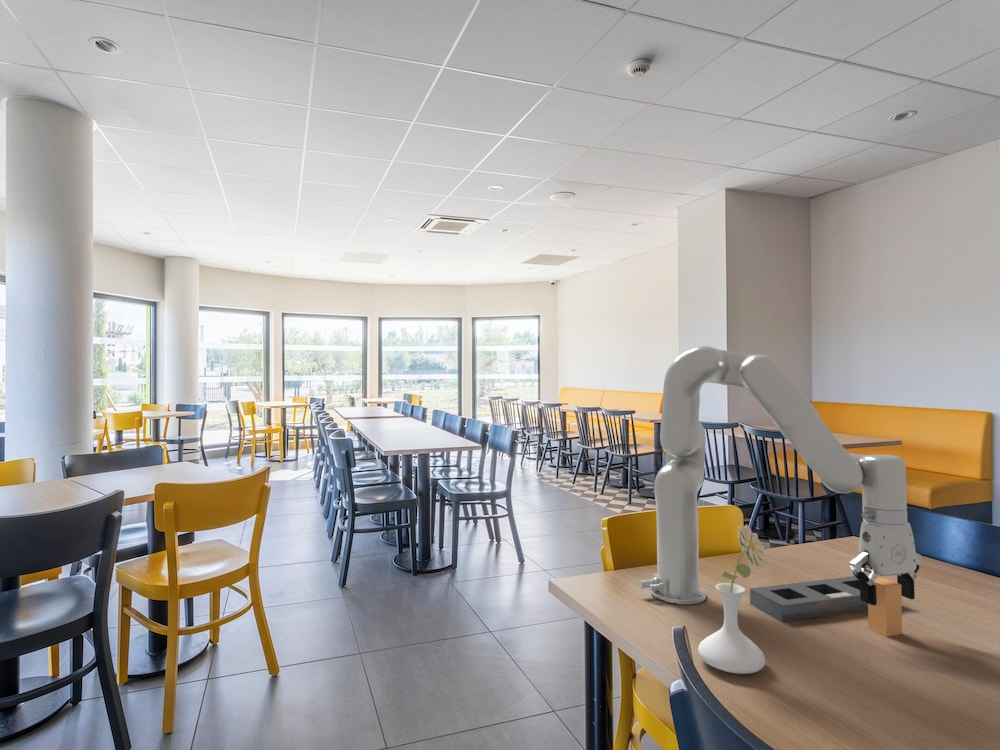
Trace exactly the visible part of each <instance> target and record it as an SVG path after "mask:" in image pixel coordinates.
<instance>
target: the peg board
mask: <svg viewBox="0 0 1000 750" xmlns="http://www.w3.org/2000/svg"><path fill="white" fill-rule="evenodd" d="M749 604H750V605H752V606H753V607H755V608H757V609H759V610H760V611H762V612H764V613H766V614H767V615H769V616H771V617H773V618H775V619H776V620H778V621H779V622H782V623H783V622H784V623H785V622H792V621H799V620H807V619H813V618H814V619H815V618H821V617H829V616H835V615H836V616H837V615H842V614H843V615H844V614H851V613H858V612H864V611H865V612H866V611H868V603H866V602H864V601H862V600H861V599H860V581H858V580H857V578H856V577H855V576H854V575H853V576H844V577H838V578H837V577H836V578H828V579H820V580H811V581H810V580H809V581H802V582H793V583H785V584H784V583H783V584H777V585H769V586H768V585H766V586H760V587H750V588H749Z"/></svg>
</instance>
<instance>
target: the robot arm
mask: <svg viewBox="0 0 1000 750" xmlns="http://www.w3.org/2000/svg"><path fill="white" fill-rule="evenodd" d="M706 383H710V384H711V383H712V384H718V385H722V386H723V385H724V386H727V387H729V386H730V387H733V388H739V389H745V390H746V391H747V393H749V394H750V396H751V397H752V399H754V401H756V403H757V404H758V405H759V407H761V409H762V410H763V411H764V413H765V414H766V415H767V417H768V418H769V419H770V420H771V421H772V423H773V424H774V425H775V426H776V428H777V429H778V431H779V432H780V434H782V436H783V437H784V438H785V439H786V440H787V441H788V442H789V444H791V445H792V447H793V448H794V450H795V452H797V454H798V455H799V456H800V457H801V458H802V460H803V462H805V464H807V466H808V467H809V468H810V470H811V471H812V472H813V473H814V475H815V476H816V477H817V479H819V480H820V482H821V483H822V485H824V486H825V487H826V488H827V489H829V490H830V491H832V492H834V493H838V494H850V493H854V491H857V490H858V489H859V488H860V487H861V497H862V498H861V500H862V501H861V502H862V503H861V504H862V505H861V506H862V513H860V515H861V517H862V522H861V526H860V530H859V540H858V541H859V542H858V546H859V547H858V555H857V556H855V558H853V559H852V560H850V562H849V567H850V568H851V571H852V574H853V576H855V577H856V578H857V580H858V581H860V599H861V600H862V601H864V602H866V603H869V604H871V605H876V604H877V598H876V585H873V583H874V581H875V580H876V579H878V576H879V577H880V576H881V577H891V576H897V577H896V578H897V579H896V581H897V582H896V583H898V584H901V597H902V598H907V599H909V600H915V597H916V596H915V595H916V594H915V593H916V592H915V580H916V579H917V578H918V577H917V573H918V571H919V569H920V564H921V561H922V558H923V557H922V555H921V554H919V553H918V552H917V551H916V545H915V539H914V534H913V529H912V527H911V526H912V525H911V523H910V522H908V510H907V509H908V508H907V507H908V505H907V504H908V503H907V498H908V497H907V478H906V477H907V475H906V462H905V460H904V459H903V458H902V457H900V456H898V455H892V454H881V453H880V454H877V453H875V454H874V453H873V454H859V453H852V452H848V451H847V449H846V448H845V447H844V446H843V445H842V443H841V442H840V441H839V440H838V439H837V437H836V436H835V435H834V434H833V432H832V431H831V430H830V429H829V427H828V426H827V425H826V424H825V423H824V421H823V419H822V418H821V416H820V414H819V412H818V411H817V410H816V408H815V406H813V404H812V402H811V401H809V399H808V398H807V396H805V395H804V394H803V392H802V391H801V390H800V389H799V387H798V386H797V385H796V384H795V383H794V382H793V381H792V379H791V378H790V377H789V376H788V374H787V373H786V372H785V371H784V370H783V368H781V366H780V365H779V364H778V363H777V362H776V360H775V359H774V358H772V357H770V356H769V355H767V354H763V353H762V354H760V353H758V354H753V353H750V354H749V353H743V352H736V351H730V350H725V349H719V348H715V347H712V346H708V345H707V346H706V345H702V346H696V347H693V348H690V349H689V350H686V351H685V352H683V353H681V354H680V355H678V356H677V357H676V358H675V359H674V360H673V361H672V362H671V364H670V365H669V367H668V368H667V371H666V373H665V377H664V381H663V391H662V405H661V417H660V418H661V419H660V420H661V421H660V433H659V440H660V441H659V443H660V445H661V447H662V449H663V451H665V453H666V454H665V465H664V466H662V467H661V468H660V469H659V470H658V472H657V474H656V476H655V480H654V485H653V487H654V490H653V491H654V498H655V499H654V500H655V509H656V563H657V564H656V565H657V566H656V567H657V568H656V572H655V573H652V577H650V579H640V580H638V588H639V589H641V590H643V589H649V591H650V593H651V595H652V594H653V595H654V596H655V597H654V596H653V595H652V596H653V597H654V598H656V597H657V598H656V599H658V598H659V599H658V600H660V599H661V600H660V601H662V600H664V601H663V602H665V601H666V603H669V602H670V604H674V603H676V605H696V604H700V603H702V602H704V601H705V600H706V599H707V598H706V597H707V594H706V593H707V592H706V590H705V589H704V588H702V587H701V586H700V583H699V581H700V574H699V573H700V572H699V570H700V569H699V568H700V566H699V564H700V563H699V560H700V559H699V555H700V554H699V548H700V547H699V512H698V511H699V510H698V492H699V491H700V489H701V488H702V486H703V483H704V479H705V465H706V443H707V442H706V441H707V440H706V439H707V438H706V437H707V436H706V430H705V427H704V426H703V424H702V422H700V420H699V419H700V403H701V402H700V400H701V399H700V395H701V394H700V393H701V389H702V386H703V385H704V384H706ZM868 573H870V574H869V575H868Z"/></svg>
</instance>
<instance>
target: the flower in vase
mask: <svg viewBox="0 0 1000 750" xmlns="http://www.w3.org/2000/svg"><path fill="white" fill-rule="evenodd" d="M737 535H738V536H737V540H738V544H739V546H740V548H741V552H740V554H739V557H738V559H737V561H736V564H735V568H734V572H733V574H731V573H729V572H727V571H726V570H725V571H724V572H723V574H722V575H721V577H722V578H725V579H728V580H731V582H730V583H729V582H721V583H717V584H716V585H715V588H716V590H717V591H718V592H719V595H720V597H721V600H722V605H723V616H724V617H723V625H722V626H721V628H720V629H718V630H717V631H715V632H713V633H711V634H710V635H707V636H706V637H705V638H704V639H702V641H701V642H699V645H698V648H697V652H698V655H699V657H700V658H701V659H702V661H703V662H705V663H706V664H708V665H709V666H711V667H713V668H715V669H718V670H720V671H723V672H727V673H732V674H739V675H740V674H741V675H745V674H753V673H757V672H760V671H761V670H762V669H763V668H764V667H765V666H766V664H767V660H766V657H765V654H764V653H763V651H762V650H761V649H760V648H759V647H758V645H757V644H755V642H753V641H752V640H751V639H750V638H748V637H747V635H745V634H744V633H743V632H742V631H741V630H740V627H739V622H738V611H739V604H740V600H741V598H742V596H743V595H744V594H745V593H746V588H745V587H743V586H742V585H739V584H736V583H735V580H736V579H737V578H738V576H736V574H737V573H738V574H739V575H740V576H741V577H742V578H744V579H745V578H748V577H749V576H751V573H752V571H751V568H750V567H749V566H748V565H747V564H746V563H744V562H740V561H741V558H742V556H745V558H746V560H747V561H748V562H749V564H750V565H752V566H755V567H756V568H760V569H761V568H765V567H764V566H765V565H764V563H767V561H768V560H767V559H766V557H767V556H766V554H765V553H764V552H765V550H766V548H765V546H764V545H762V541H761V540H760V539H759V536H758V533H757V532H752V529H751V527H750V526H749V525H748V524H745V525H743V524H742V523H740V525H739V526H738V530H737Z"/></svg>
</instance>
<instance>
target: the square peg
mask: <svg viewBox="0 0 1000 750" xmlns="http://www.w3.org/2000/svg"><path fill="white" fill-rule="evenodd" d="M873 585H876V598H877V604H876V605H871V604H869V603H868V610H867V617H868V618H867V622H868V623H867V624H868V628H867V629H869V630H871V631H874V632H875V633H877V634H879V635H882V636H884V637H886V638H887V637H892V636H893V635H894V636H900V635H902V634H903V627H902V626H903V625H902V624H903V622H902V619H903V617H902V616H903V614H902V613H903V611H902V609H903V607H902V604H903V603H902V601H903V600H902V598H903V596H901V584H898V583H897V582H895V581H893V580H890V579H887V578H885V577H877V578H876V580H875V581H874V583H873ZM899 634H900V635H899Z"/></svg>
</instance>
